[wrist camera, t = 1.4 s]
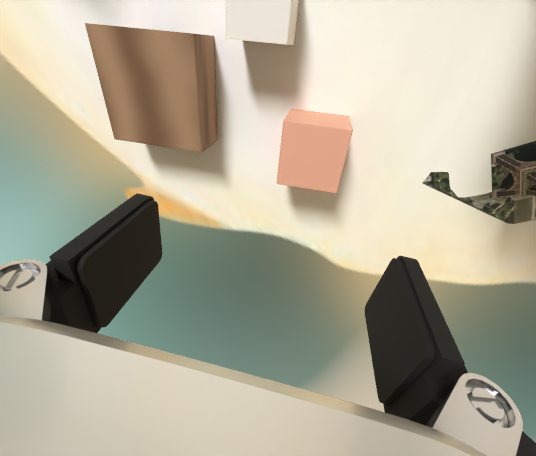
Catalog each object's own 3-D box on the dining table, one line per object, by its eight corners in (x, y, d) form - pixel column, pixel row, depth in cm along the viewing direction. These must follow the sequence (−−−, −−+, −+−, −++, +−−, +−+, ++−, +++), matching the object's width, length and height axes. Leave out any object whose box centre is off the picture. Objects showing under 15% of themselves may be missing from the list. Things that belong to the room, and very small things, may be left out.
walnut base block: (215, 36, 26) (193, 33, 22) (218, 139, 31) (201, 152, 27) (122, 27, 27) (85, 23, 23) (141, 127, 33) (114, 139, 29)
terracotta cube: (348, 115, 27) (352, 130, 22) (335, 170, 31) (336, 193, 26) (291, 108, 28) (283, 121, 23) (285, 162, 31) (276, 183, 26)
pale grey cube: (302, -28, 22) (295, -46, 18) (293, 45, 25) (286, 44, 21) (244, -32, 22) (225, -50, 18) (242, 40, 25) (225, 38, 21)
